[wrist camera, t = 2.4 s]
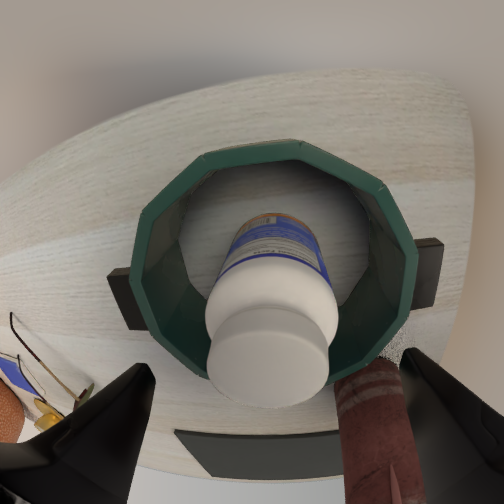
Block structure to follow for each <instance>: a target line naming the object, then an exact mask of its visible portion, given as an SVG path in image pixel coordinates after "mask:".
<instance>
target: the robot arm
mask: <svg viewBox="0 0 504 504" xmlns="http://www.w3.org/2000/svg"><path fill="white" fill-rule="evenodd" d="M399 373H400V378H401V383H402V388H403V394H404V400H405V406H406V410H407V414H408V418H409V421H410V425H411V429H412V433H413V437H414V441H415V445H416V449H417V454H418V458H419V463H420V468H421V473H422V478H423V483H424V489H425V496H426V501H427V502H426V503H427V504H504V417H503V416H502V415H500V414H499V413H498V412H496V411H495V410H494V409H492V408H491V407H490V406H489V405H487V404H486V403H485V402H484V401H482V400H481V399H480V398H479V397H478V396H477V395H475V394H474V393H473V392H472V391H470V390H469V389H468V388H467V387H465V386H464V385H463V384H462V383H461V382H459V381H458V380H457V379H456V378H454V377H453V376H452V375H450V374H449V373H448V372H447V371H445V370H444V369H443V368H442V367H440V366H439V365H438V364H437V363H435V362H434V361H433V360H432V359H430V358H429V357H428V356H426V355H425V354H424V353H423V352H421V351H420V350H419V349H417V348H415V347H412V348H408V349H405V350H404V352H403V355H402V358H401V361H400V365H399ZM155 385H156V379H155V376H154V375H153V373H152V371H151V369H150V367H149V366H148V365H147V364H146V363H136V364H134V365H133V366H132V367H130V368H129V369H128V370H127V371H125V372H124V373H123V374H121V375H120V376H119V377H117V378H116V379H115V380H114V381H112V382H111V383H110V384H108V385H107V386H106V387H104V388H103V389H102V390H101V391H99V392H98V393H97V394H95V395H94V396H93V397H91V398H90V399H89V400H87V401H86V402H85V403H83V404H82V405H81V406H79V407H78V408H77V409H76V410H74V411H73V412H72V413H70V414H69V415H67V416H66V417H65V418H63V419H62V420H61V421H59V422H58V423H56V424H55V425H53V426H52V427H50V428H48V429H47V430H45V431H43V432H42V433H40V434H38V435H37V436H35V437H33V438H32V439H30V440H28V441H26V442H23V443H5V442H0V504H127V500H128V496H129V491H130V487H131V483H132V479H133V475H134V471H135V467H136V464H137V460H138V456H139V452H140V449H141V445H142V441H143V438H144V434H145V431H146V427H147V424H148V420H149V417H150V412H151V406H152V401H153V395H154V390H155Z"/></svg>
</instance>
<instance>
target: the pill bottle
mask: <svg viewBox="0 0 504 504" xmlns="http://www.w3.org/2000/svg"><path fill="white" fill-rule="evenodd" d="M205 322H206V327H207V331H208V334H209V336H210V338H211V340H212V342H211V347H210V351H209V355H208V359H207V373H208V376H209V379H210V381H211V382H212V384H213V385H214V386H215V388H216V389H217V390H218V391H219V392H221V393H222V394H223V395H225V396H226V397H228V398H229V399H231V400H233V401H235V402H238V403H240V404H243V405H247V406H251V407H257V408H272V409H273V408H284V407H289V406H293V405H296V404H299V403H302V402H304V401H306V400H308V399H310V398H311V397H313V396H314V395H316V394H317V393H318V392H319V391H320V390H321V389H322V387H323V386H324V385H325V383H326V381H327V378H328V374H329V360H328V347H329V345H330V344H331V342H332V340H333V339H334V336H335V334H336V330H337V326H338V308H337V304H336V300H335V296H334V293H333V290H332V286H331V283H330V280H329V277H328V274H327V271H326V267H325V264H324V261H323V258H322V255H321V251H320V248H319V245H318V243H317V240H316V238H315V236H314V234H313V233H312V231H311V230H310V229H309V228H308V227H307V226H306V225H305V224H304V223H303V222H301V221H300V220H298V219H296V218H294V217H292V216H289V215H286V214H281V213H268V214H263V215H260V216H257V217H255V218H253V219H251V220H250V221H248V222H247V223H246V224H245V225H244V226H243V227H242V228H241V229H240V230H239V232H238V233H237V235H236V237H235V239H234V241H233V243H232V246H231V248H230V250H229V253H228V255H227V257H226V260H225V262H224V264H223V266H222V269H221V271H220V273H219V276H218V278H217V280H216V282H215V285H214V287H213V289H212V292H211V294H210V296H209V299H208V302H207V306H206V311H205Z"/></svg>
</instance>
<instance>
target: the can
mask: <svg viewBox="0 0 504 504" xmlns="http://www.w3.org/2000/svg"><path fill="white" fill-rule="evenodd" d="M334 394H335V401H336V408H337V416H338V424H339V432H340V441H341V451H342V461H343V473H344V486H345V500H346V501H345V503H346V504H427V503H426V502H427V501H426V496H425V489H424V483H423V478H422V473H421V468H420V463H419V458H418V454H417V449H416V445H415V441H414V437H413V433H412V429H411V425H410V421H409V418H408V414H407V410H406V406H405V400H404V394H403V388H402V383H401V378H400V373H399V370H398V367H397V366H396V365H395V364H394V363H393V362H392V361H390V360H387V359H384V358H378V357H376V358H375V359H374V360H373V361H372V362H371V363H370V364H368V365H367V366H366V367H364V368H362V369H360V370H358V371H356V372H354V373H352V374H350V375H348V376H346V377H344V378H342V379H340V380H337V381H336V383H335V384H334Z"/></svg>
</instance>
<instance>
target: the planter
mask: <svg viewBox="0 0 504 504" xmlns="http://www.w3.org/2000/svg"><path fill="white" fill-rule="evenodd" d="M24 421H25V415H24V410H23V407H22V404H21V403H20V401H19V400H18V398H17V397H16V396H15V395H14V393H13V392H12V391H11V390H10V389H9V388H8V387H7V386H6V385H5V384H4V382H3V381H1V380H0V442H5V443H17V440H18V438H19V436H20V433H21V431H22V428H23V425H24Z"/></svg>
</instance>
